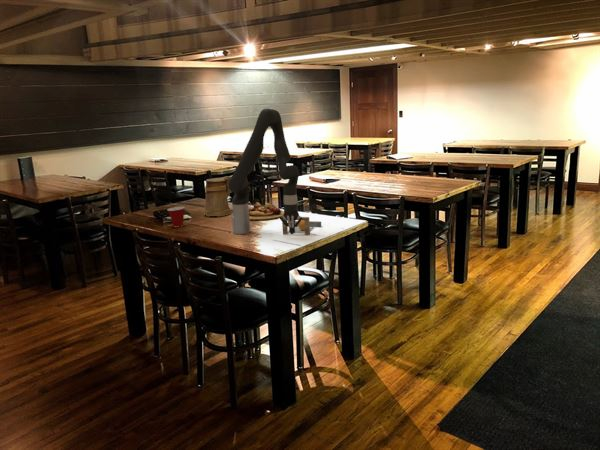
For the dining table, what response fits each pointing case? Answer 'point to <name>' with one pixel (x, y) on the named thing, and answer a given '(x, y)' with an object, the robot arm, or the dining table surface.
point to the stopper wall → (313, 224)
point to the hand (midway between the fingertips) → (292, 233)
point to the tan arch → (307, 225)
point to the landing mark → (301, 230)
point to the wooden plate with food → (264, 212)
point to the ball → (302, 225)
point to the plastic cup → (177, 215)
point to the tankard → (217, 197)
